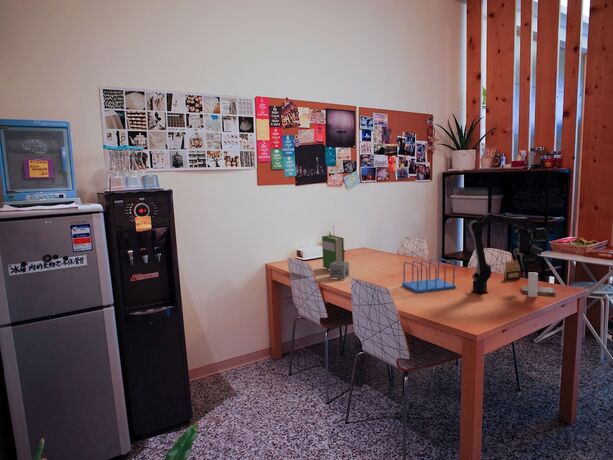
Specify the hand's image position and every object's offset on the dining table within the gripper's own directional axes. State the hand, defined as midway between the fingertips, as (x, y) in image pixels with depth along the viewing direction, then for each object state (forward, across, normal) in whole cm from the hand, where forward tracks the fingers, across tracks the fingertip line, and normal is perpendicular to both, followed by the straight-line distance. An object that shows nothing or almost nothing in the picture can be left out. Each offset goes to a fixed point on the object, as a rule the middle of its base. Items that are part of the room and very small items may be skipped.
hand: (523, 269), depth 217 cm
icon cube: (+14, +23, +104) cm, 108 cm away
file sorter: (+13, +6, +49) cm, 51 cm away
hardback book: (+14, +45, +112) cm, 122 cm away
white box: (+12, -3, -4) cm, 13 cm away
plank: (+12, 0, -7) cm, 14 cm away
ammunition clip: (+13, +29, -1) cm, 32 cm away
